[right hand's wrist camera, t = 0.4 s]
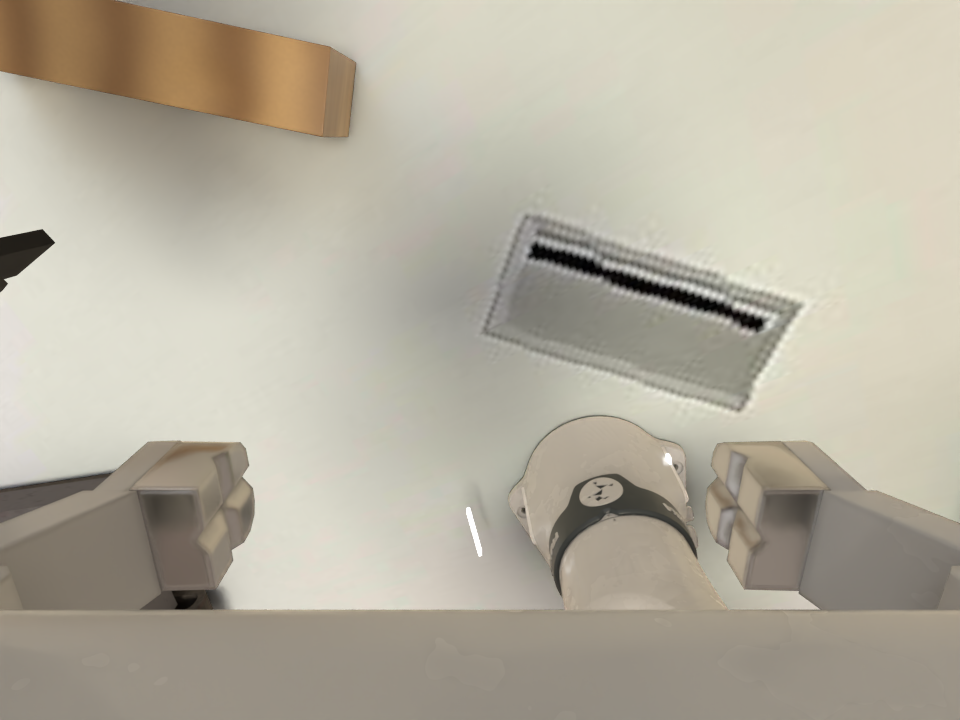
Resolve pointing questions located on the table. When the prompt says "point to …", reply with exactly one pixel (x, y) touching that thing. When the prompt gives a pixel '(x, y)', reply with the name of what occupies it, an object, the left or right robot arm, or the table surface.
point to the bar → (179, 62)
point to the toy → (35, 496)
